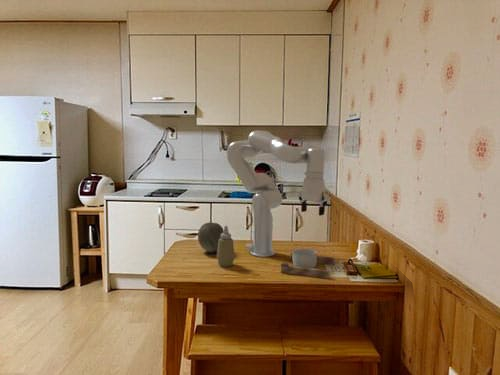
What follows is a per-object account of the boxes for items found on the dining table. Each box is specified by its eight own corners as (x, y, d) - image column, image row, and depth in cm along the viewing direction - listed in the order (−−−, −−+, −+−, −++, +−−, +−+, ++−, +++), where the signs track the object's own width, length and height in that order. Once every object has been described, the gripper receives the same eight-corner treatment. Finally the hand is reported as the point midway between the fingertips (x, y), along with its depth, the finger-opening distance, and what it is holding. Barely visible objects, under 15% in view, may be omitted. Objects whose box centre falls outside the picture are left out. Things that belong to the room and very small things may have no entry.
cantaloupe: (230, 250, 198) (231, 222, 196) (213, 257, 186) (213, 227, 185) (209, 246, 206) (209, 218, 204) (191, 252, 194) (191, 223, 192)
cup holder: (280, 272, 166) (281, 264, 166) (292, 258, 186) (292, 251, 186) (327, 278, 160) (328, 269, 159) (334, 263, 180) (334, 255, 179)
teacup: (315, 273, 166) (316, 255, 165) (290, 271, 168) (291, 253, 167) (316, 263, 179) (317, 247, 178) (293, 262, 181) (293, 245, 180)
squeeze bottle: (237, 263, 178) (237, 225, 176) (230, 268, 170) (230, 228, 168) (220, 261, 180) (221, 223, 178) (213, 266, 173) (213, 227, 171)
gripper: (294, 174, 177) (292, 211, 179) (326, 178, 164) (323, 217, 167) (304, 173, 182) (302, 209, 184) (335, 177, 170) (333, 215, 172)
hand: (312, 213), depth 175 cm, fingers open, 9 cm apart
